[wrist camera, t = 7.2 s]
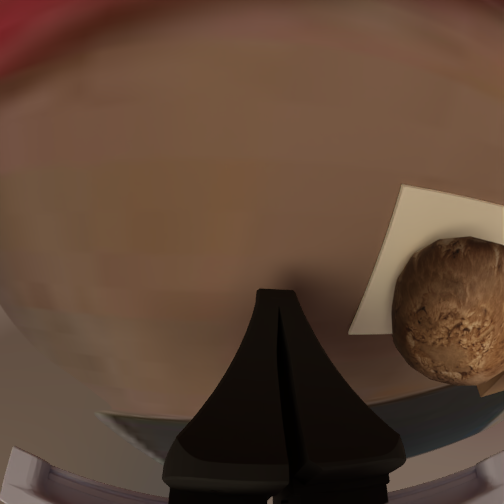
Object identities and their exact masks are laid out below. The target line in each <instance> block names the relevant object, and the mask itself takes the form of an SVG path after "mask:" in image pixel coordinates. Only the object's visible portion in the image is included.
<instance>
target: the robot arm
mask: <svg viewBox="0 0 504 504" xmlns="http://www.w3.org/2000/svg"><path fill="white" fill-rule="evenodd" d="M405 461H406V455H405V450H404V446H403V443H402V441H401V438H400V435H399V434H398V433H397V432H395V431H394V430H393V429H392V428H391V427H389V426H388V425H387V424H386V423H385V422H384V421H383V420H381V419H380V418H379V417H378V416H377V415H376V414H375V413H374V412H373V411H372V410H371V409H370V408H369V407H368V406H367V405H366V404H365V403H364V402H363V401H362V399H361V398H360V397H359V396H358V395H357V394H356V393H355V392H354V391H353V389H352V388H351V387H350V386H349V385H348V383H347V382H346V381H345V380H344V378H343V377H342V376H341V374H340V373H339V372H338V370H337V369H336V368H335V366H334V365H333V363H332V362H331V360H330V359H329V357H328V356H327V354H326V353H325V351H324V349H323V348H322V346H321V345H320V343H319V341H318V339H317V338H316V336H315V334H314V332H313V330H312V328H311V327H310V325H309V323H308V321H307V319H306V317H305V315H304V312H303V310H302V308H301V306H300V303H299V301H298V299H297V296H296V293H295V292H294V291H293V290H276V289H259V290H257V294H256V303H255V307H254V311H253V314H252V318H251V320H250V323H249V326H248V328H247V331H246V334H245V336H244V338H243V340H242V342H241V345H240V347H239V349H238V351H237V353H236V355H235V357H234V359H233V361H232V363H231V364H230V366H229V368H228V370H227V371H226V373H225V375H224V376H223V378H222V379H221V381H220V383H219V384H218V386H217V387H216V389H215V390H214V392H213V393H212V394H211V396H210V397H209V398H208V400H207V401H206V402H205V404H204V405H203V406H202V408H201V409H200V410H199V412H198V413H197V414H196V415H195V416H194V418H193V419H192V420H191V421H190V422H189V423H188V424H187V426H186V427H185V428H184V429H183V430H182V431H181V432H180V433H179V434H178V436H177V437H176V439H175V441H174V443H173V444H172V446H171V448H170V450H169V452H168V454H167V457H166V459H165V463H164V467H163V475H162V480H163V481H164V482H165V483H166V484H167V485H168V486H169V487H170V493H169V498H165V497H160V496H154V495H150V494H145V493H140V492H136V491H131V490H127V489H123V488H119V487H115V486H112V485H108V484H105V483H101V482H98V481H95V480H91V479H88V478H85V477H82V476H79V475H76V474H73V473H71V472H68V471H65V470H63V469H60V468H57V467H55V466H52V465H50V464H49V463H48V462H47V461H45V460H43V459H41V458H40V457H38V456H35V455H33V454H31V453H29V452H26V451H24V450H22V449H20V448H18V447H16V446H14V447H13V448H12V452H11V455H10V459H9V462H8V466H7V469H6V473H5V477H4V481H3V486H2V489H1V494H0V500H1V501H3V502H4V503H6V504H267V500H268V499H269V498H270V497H272V496H273V504H504V450H503V451H501V452H499V453H497V454H494V455H492V456H490V457H488V458H486V459H484V460H483V461H480V462H479V463H477V464H476V465H475V466H472V467H470V468H467V469H465V470H462V471H460V472H457V473H454V474H451V475H448V476H446V477H442V478H439V479H437V480H433V481H430V482H427V483H423V484H420V485H416V486H412V487H409V488H405V489H401V490H397V491H393V492H388V493H387V486H386V484H388V483H389V481H390V480H389V473H390V472H392V471H394V470H396V469H397V468H399V467H401V466H402V465H403V464H404V463H405Z"/></svg>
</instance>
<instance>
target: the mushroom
mask: <svg viewBox="0 0 504 504" xmlns="http://www.w3.org/2000/svg"><path fill="white" fill-rule="evenodd" d="M391 316H392V336H393V341H394V344H395V346H396V348H397V349H398V351H399V352H400V353H401V355H402V356H403V357H404V359H405V360H406V362H407V363H408V364H409V365H410V366H411V367H412V368H414V369H415V370H417V371H418V372H420V373H421V374H423V375H425V376H426V377H428V378H429V379H431V380H435V381H439V382H443V383H447V384H452V385H458V386H461V385H478V384H482V383H485V382H487V381H488V380H490V379H492V378H493V377H495V376H496V375H498V374H499V373H501V372H502V371H504V245H502V244H498V243H495V242H491V241H487V240H483V239H479V238H475V237H471V236H467V237H457V238H446V239H438V240H436V241H435V242H433V243H431V244H430V245H428V246H426V247H425V248H423V249H421V250H419V251H418V252H416V253H414V254H413V255H412V256H411V258H410V259H409V261H408V262H407V264H406V265H405V267H404V269H403V270H402V272H401V273H400V275H399V277H398V278H397V281H396V285H395V290H394V296H393V302H392V310H391Z"/></svg>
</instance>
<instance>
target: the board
mask: <svg viewBox="0 0 504 504" xmlns="http://www.w3.org/2000/svg"><path fill="white" fill-rule="evenodd" d="M467 236H471V237H475V238H479V239H483V240H487V241H491V242H495V243H498V244H502V245H504V205H500V204H496V203H492V202H488V201H483V200H479V199H475V198H470V197H466V196H461V195H457V194H452V193H447V192H442V191H437V190H432V189H427V188H422V187H416V186H411V185H405V184H402V185H401V188H400V192H399V195H398V199H397V202H396V205H395V208H394V212H393V215H392V218H391V221H390V224H389V227H388V230H387V233H386V236H385V239H384V242H383V245H382V248H381V251H380V253H379V256H378V259H377V262H376V264H375V267H374V270H373V272H372V275H371V278H370V280H369V283H368V285H367V288H366V290H365V293H364V295H363V298H362V300H361V303H360V305H359V307H358V310H357V312H356V315H355V317H354V319H353V322H352V324H351V326H350V328H349V331H348V334H349V335H365V334H392V316H391V310H392V302H393V296H394V290H395V285H396V281H397V278H398V277H399V275H400V273H401V272H402V270H403V269H404V267H405V265H406V264H407V262H408V261H409V259H410V258H411V256H412V255H413V254H414V253H416V252H418V251H419V250H421V249H423V248H425V247H426V246H428V245H430V244H431V243H433V242H435V241H436V240H438V239H446V238H457V237H467Z"/></svg>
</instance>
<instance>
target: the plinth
mask: <svg viewBox="0 0 504 504" xmlns="http://www.w3.org/2000/svg"><path fill="white" fill-rule="evenodd" d="M477 388H478V391H479V393H480V396H481V397H483V396H486V395H490V394H493V393H497V392H500V391H503V390H504V371H502V372H501V373H499V374H498V375H496V376H495V377H493V378H492V379H490V380H488V381H487V382H485V383H482V384H478V385H477Z"/></svg>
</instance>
